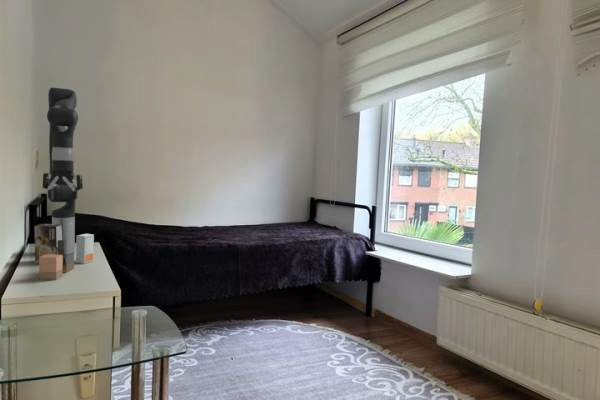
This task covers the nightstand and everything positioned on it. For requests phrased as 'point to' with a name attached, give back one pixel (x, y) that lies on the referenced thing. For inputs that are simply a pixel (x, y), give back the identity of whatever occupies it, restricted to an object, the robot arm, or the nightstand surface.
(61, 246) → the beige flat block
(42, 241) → the coffee box
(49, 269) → the peach rectangular block
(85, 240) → the skincare box
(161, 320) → the nightstand surface
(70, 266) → the sleeve
